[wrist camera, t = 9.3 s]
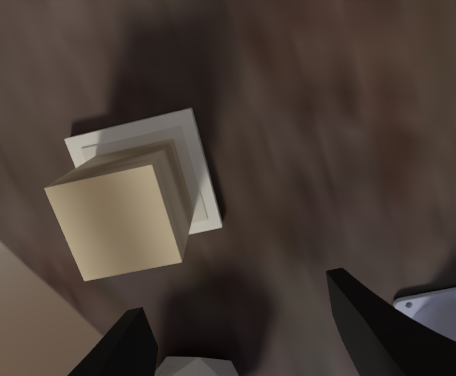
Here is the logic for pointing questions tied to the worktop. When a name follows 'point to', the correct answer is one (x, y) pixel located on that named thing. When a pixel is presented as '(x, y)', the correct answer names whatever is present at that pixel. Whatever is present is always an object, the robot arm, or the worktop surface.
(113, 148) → the tray
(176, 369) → the die
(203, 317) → the worktop surface
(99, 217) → the maple block
